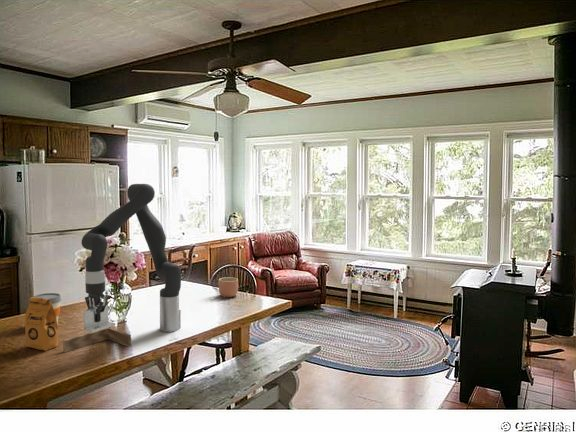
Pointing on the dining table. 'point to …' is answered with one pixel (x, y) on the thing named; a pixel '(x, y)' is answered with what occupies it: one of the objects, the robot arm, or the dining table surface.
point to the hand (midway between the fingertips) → (96, 321)
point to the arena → (96, 339)
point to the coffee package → (41, 325)
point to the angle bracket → (90, 320)
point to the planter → (228, 286)
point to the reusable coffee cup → (52, 301)
